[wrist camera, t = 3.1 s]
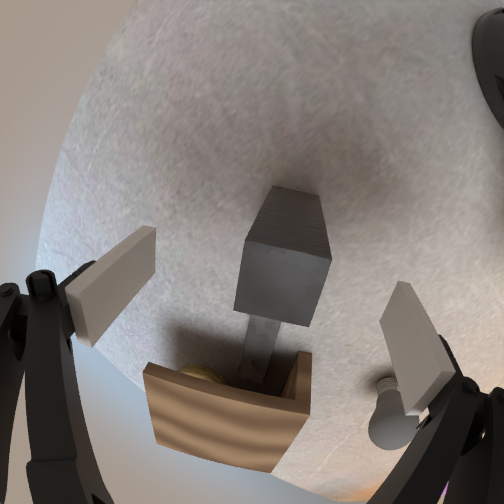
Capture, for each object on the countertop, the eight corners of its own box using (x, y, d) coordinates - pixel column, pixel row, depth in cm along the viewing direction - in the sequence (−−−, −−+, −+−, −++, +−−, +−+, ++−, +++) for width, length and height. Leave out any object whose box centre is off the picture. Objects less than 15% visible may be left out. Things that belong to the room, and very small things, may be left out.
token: (178, 357, 35) (170, 373, 32) (230, 372, 34) (225, 389, 32) (179, 388, 38) (172, 403, 35) (225, 401, 37) (220, 417, 35)
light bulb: (402, 392, 32) (414, 453, 23) (360, 397, 33) (365, 461, 24) (412, 363, 29) (430, 429, 20) (366, 368, 30) (375, 438, 22)
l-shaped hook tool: (272, 185, 24) (245, 239, 13) (318, 196, 23) (332, 259, 13) (236, 366, 33) (211, 450, 23) (268, 374, 33) (251, 459, 22)
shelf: (174, 320, 32) (142, 372, 24) (311, 353, 31) (309, 414, 23) (175, 400, 39) (156, 443, 32) (277, 425, 38) (270, 473, 30)
